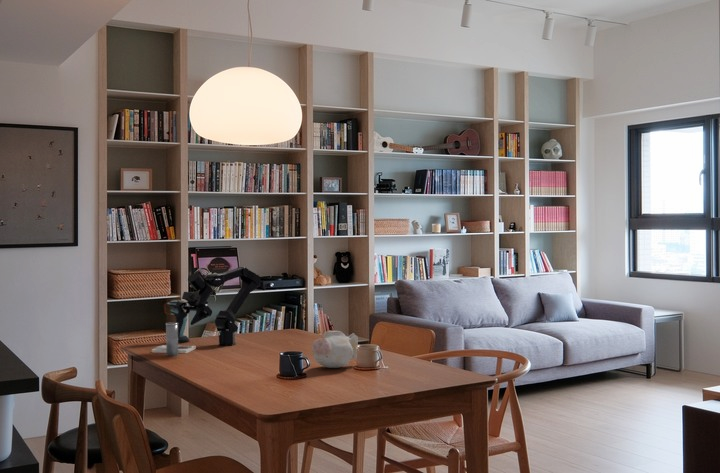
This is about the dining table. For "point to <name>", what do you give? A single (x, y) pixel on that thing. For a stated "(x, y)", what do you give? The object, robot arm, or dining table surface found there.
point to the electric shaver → (181, 324)
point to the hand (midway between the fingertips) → (183, 323)
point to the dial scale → (180, 349)
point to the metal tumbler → (172, 339)
